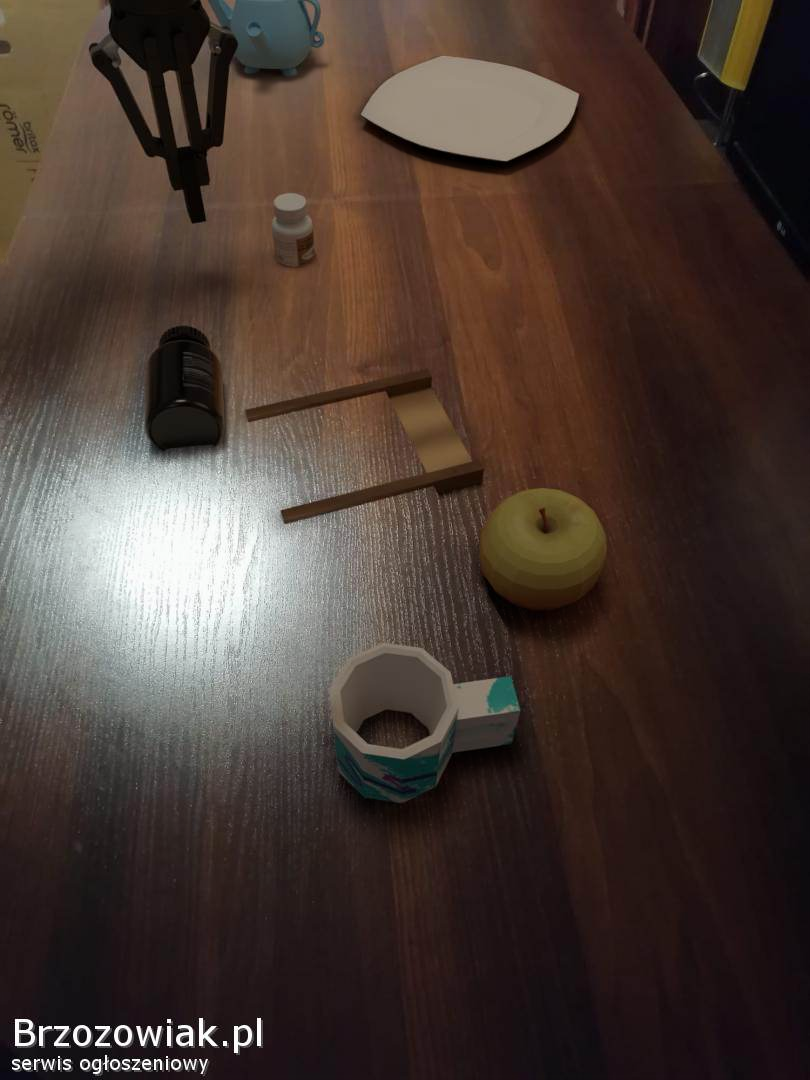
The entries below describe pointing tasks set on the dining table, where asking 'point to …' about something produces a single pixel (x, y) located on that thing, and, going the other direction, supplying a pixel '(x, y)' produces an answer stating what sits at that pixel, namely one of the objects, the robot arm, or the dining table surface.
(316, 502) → the brown u-shaped piece
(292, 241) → the pill bottle
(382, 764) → the mug
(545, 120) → the plate
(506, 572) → the apple
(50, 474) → the dining table surface
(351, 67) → the dining table surface
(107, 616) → the dining table surface
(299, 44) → the teapot
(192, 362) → the supplement bottle
